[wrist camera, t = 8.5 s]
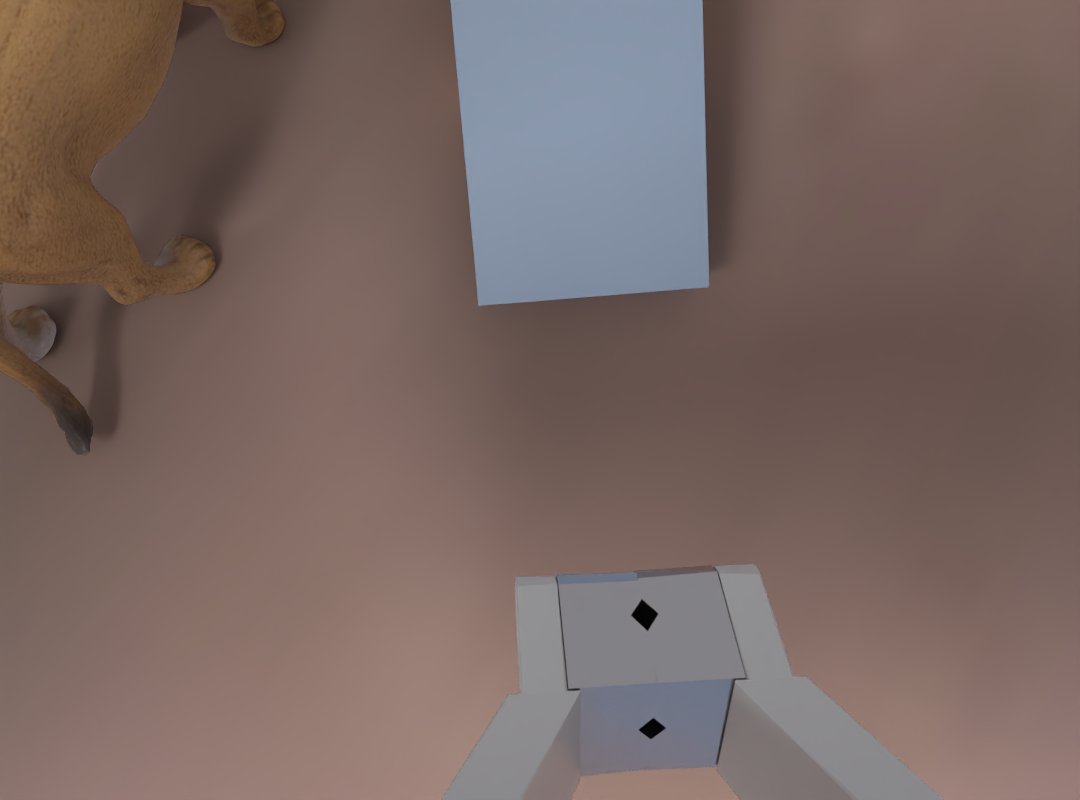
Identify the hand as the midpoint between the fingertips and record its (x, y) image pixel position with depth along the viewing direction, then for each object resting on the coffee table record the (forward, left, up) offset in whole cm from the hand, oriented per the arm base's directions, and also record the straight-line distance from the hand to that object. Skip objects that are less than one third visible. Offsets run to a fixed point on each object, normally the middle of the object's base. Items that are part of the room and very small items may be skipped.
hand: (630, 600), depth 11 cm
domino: (0, +6, -8) cm, 10 cm away
